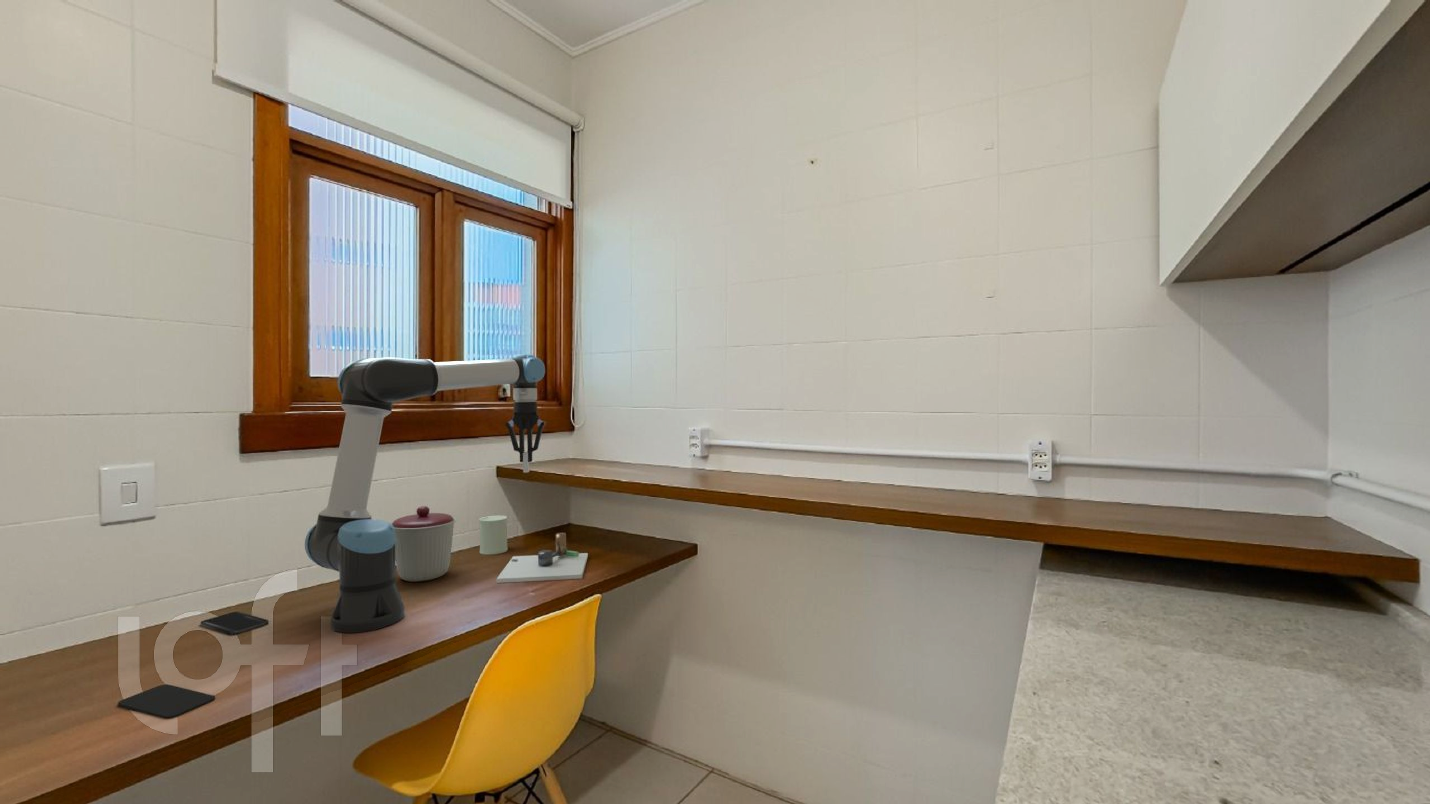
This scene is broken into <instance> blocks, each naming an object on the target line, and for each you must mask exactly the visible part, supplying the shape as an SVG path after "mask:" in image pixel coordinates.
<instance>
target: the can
mask: <svg viewBox="0 0 1430 804" xmlns="http://www.w3.org/2000/svg"><path fill="white" fill-rule="evenodd" d="M478 521H479V554H481V555H486V556H487V555H490V556H491V555H498V554H503V553H505V552H508V550H509V549H508V516H507V515H488V516H483V517H479V519H478Z"/></svg>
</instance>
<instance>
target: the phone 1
mask: <svg viewBox="0 0 1430 804" xmlns="http://www.w3.org/2000/svg"><path fill="white" fill-rule="evenodd" d="M215 700H216V696H215V695H214V694H209V693H205V692H200V691H196V690H193V689H188V688H184V687H180V686H176V685H172V684H169V683H167V684H160V685H157V686H154V687H151V688H150V689H147V690H144V691H142V692H141V691H140V692H139V693H136V694H134V695H130V696H129V697H126V698H124V699H121V700H120V701H118V702H117V707H119V708H123V709H126V710H128V711H130V710H131V711H133V712H137V713H141V714H146V715H148V716H149V715H150V716H153V717H156V718H161V719H164V720H170V719H174V718H178V717H180V716H183V715H185V714H187V713H188V712H191V711H194V710H196V709H198V708H201V707H203V706H205V705H207V704H209V703H212V702H214V701H215Z"/></svg>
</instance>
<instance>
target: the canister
mask: <svg viewBox="0 0 1430 804" xmlns="http://www.w3.org/2000/svg"><path fill="white" fill-rule="evenodd" d="M415 512H416V514H411V515H405V516H402V517H398V518H397V519H395V520H393V522H390V523H391V524H392V525H393V527H394V530H395V536H396V543H395V559H396V569H397V573H398V576H399V578H400V579H401V580H403V581H406V582H426V581H431V580H435V579H438V578H440V577H442V576H444V575H445V574H446V573H447V572H448V570H449V568H450V561H451V556H452V555H451V554H452V547H453V537H454V528H455V527H454V525H455V523H456V522H457V518H456V517H455V516H452V515H450V514H447V513H443V512H442V513H440V512H430V508H429V507H428V506H427V505H425V506H423V505H422V506H418V508H416V511H415Z"/></svg>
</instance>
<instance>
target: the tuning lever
mask: <svg viewBox="0 0 1430 804" xmlns="http://www.w3.org/2000/svg"><path fill="white" fill-rule="evenodd" d="M566 551H569V548H568V547H567V534H566V532H557V533H555V551H553V550H551V549H542V550H540V551H538V552H537V555H538V565H539V566H549V565H552V564H553V557H555V556H564V555H566Z"/></svg>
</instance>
